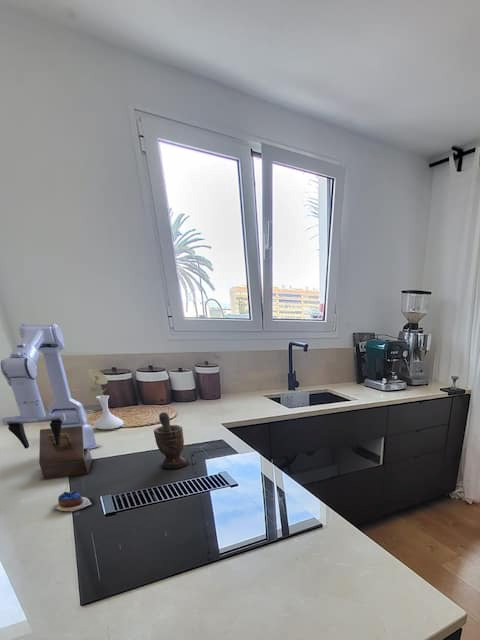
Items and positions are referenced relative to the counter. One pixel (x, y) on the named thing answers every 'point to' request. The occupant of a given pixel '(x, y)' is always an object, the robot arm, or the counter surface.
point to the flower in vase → (103, 404)
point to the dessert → (72, 501)
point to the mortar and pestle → (170, 442)
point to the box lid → (61, 446)
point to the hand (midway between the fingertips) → (43, 445)
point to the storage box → (67, 467)
